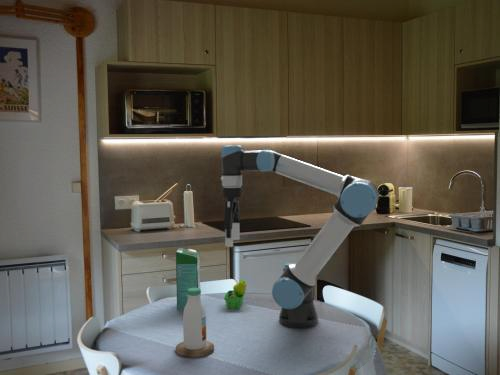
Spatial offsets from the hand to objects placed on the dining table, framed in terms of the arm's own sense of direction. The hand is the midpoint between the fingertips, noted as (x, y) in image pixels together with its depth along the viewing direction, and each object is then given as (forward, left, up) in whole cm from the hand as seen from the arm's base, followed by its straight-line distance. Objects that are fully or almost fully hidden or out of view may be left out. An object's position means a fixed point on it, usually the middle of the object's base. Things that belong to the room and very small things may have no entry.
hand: (232, 243), depth 204 cm
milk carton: (+24, -23, -33) cm, 47 cm away
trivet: (+9, +24, -33) cm, 41 cm away
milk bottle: (+9, +23, -32) cm, 40 cm away
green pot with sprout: (+4, -27, -33) cm, 43 cm away
